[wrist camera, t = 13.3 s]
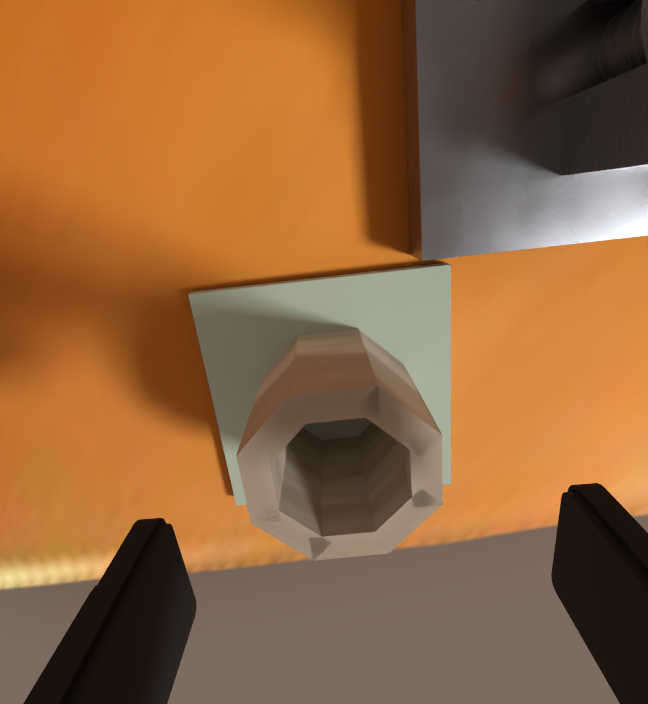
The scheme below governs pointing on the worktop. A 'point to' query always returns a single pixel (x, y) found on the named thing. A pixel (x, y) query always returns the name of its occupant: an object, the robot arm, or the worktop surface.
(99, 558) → the worktop surface
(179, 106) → the worktop surface
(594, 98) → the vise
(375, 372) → the hollow octagonal tube
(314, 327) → the mat
